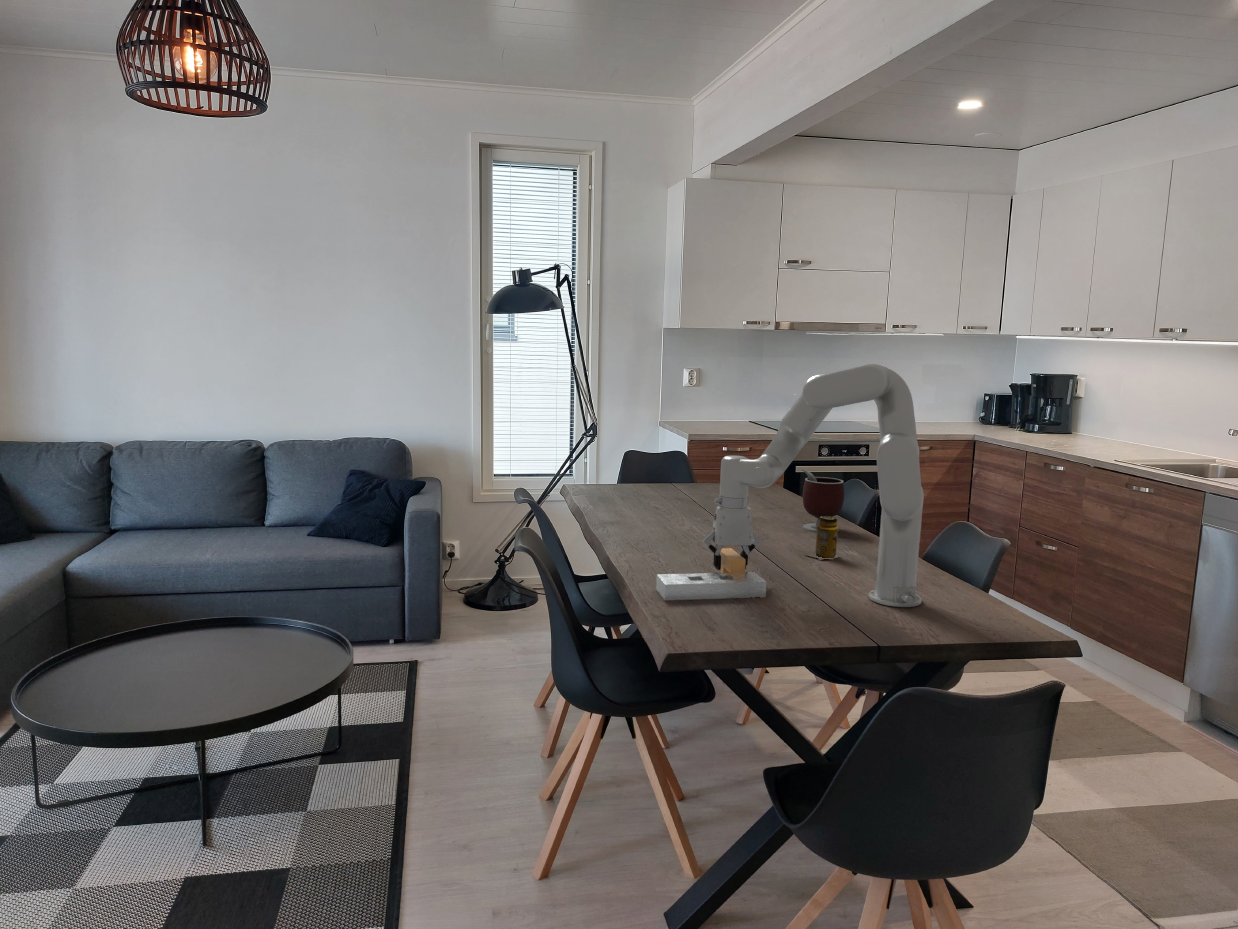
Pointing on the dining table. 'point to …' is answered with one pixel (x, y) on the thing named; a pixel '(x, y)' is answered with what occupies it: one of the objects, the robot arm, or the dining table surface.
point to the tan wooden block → (731, 561)
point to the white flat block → (710, 586)
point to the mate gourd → (822, 497)
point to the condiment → (826, 537)
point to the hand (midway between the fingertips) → (730, 567)
